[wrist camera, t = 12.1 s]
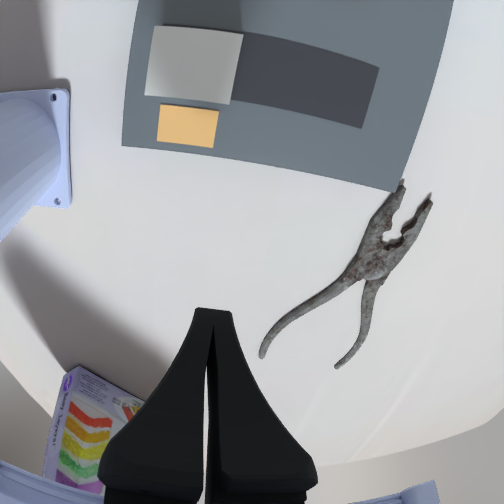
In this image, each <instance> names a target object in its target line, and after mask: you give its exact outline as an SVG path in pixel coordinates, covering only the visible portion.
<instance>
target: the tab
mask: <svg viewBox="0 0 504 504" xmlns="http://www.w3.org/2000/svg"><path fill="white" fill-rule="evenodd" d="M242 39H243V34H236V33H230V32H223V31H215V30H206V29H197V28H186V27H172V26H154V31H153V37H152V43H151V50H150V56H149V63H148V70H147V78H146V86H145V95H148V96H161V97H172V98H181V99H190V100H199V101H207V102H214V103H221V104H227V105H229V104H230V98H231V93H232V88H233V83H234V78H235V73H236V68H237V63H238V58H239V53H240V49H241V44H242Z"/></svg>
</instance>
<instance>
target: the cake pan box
mask: <svg viewBox="0 0 504 504" xmlns="http://www.w3.org/2000/svg"><path fill="white" fill-rule="evenodd" d="M144 403H145V401H143V400H141V399H139V398H137V397H135V396H133V395H131V394H129V393H127V392H125V391H123V390H121V389H119V388H118V387H116V386H114V385H112V384H110V383H108V382H107V381H105V380H103V379H101V378H100V377H98V376H96V375H94V374H93V373H91V372H89V371H88V370H86V369H84V368H82V367H80V366H78V367H76V368H74V369H73V370H71V371H70V372H68V373H66V374H65V375H64V376H63V380H62V384H61V387H60V391H59V395H58V399H57V403H56V407H55V411H54V415H53V419H52V423H51V427H50V431H49V436H48V441H47V446H46V452H45V458H44V464H43V471H42V476H41V477H43V478H46V479H49V480H51V481H54V482H57V483H60V484H63V485H67V486H70V487H73V488H76V489H80V490H83V491H87V492H91V493H95V494H98V495H102V496H104V495H105V487H106V486H105V485H104V484H103V483H102V482H101V481H100V480H99V479H98V477H97V473H98V467H99V462H100V459H101V456H102V454H103V452H104V450H105V448H106V446H107V444H108V443H109V441H110V439H111V438H112V437H113V436H114V435H116V434H117V433H118V432H119V431H120V430H121V429H122V428H123V427H124V426H125V425H126V424H127V423H128V422H129V420H130V419H131V418H132V417H133V416H134V415H135V414H136V412H137V411H138V410H139V409H140V408H141V407H142V406H143V404H144Z"/></svg>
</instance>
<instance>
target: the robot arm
mask: <svg viewBox="0 0 504 504" xmlns="http://www.w3.org/2000/svg"><path fill="white" fill-rule="evenodd" d="M53 94H56V96H57V99H56V100H54V99H53ZM69 100H70V95H69V92H68V90H67V89H64V88H57V89H37V90H23V91H11V92H2V93H0V242H1V241H2V240H3V239H4V237H5V236H6V235H7V234H8V233H9V232H10V230H11V229H12V228H13V227H14V226H15V225H16V224H17V223H18V221H19V220H20V219H21V218H22V217H23V216H24V215H25V214H26V213H27V212H28V211H29V210H30V208H31V207H32V206H33V205H38V206H47V207H55V208H64V209H65V208H68V207H69V206H70V205H71V203H72V196H71V182H70V162H69ZM57 198H58V199H59V200H60V202H58V201H57ZM206 366H207V387H208V410H209V425H208V446H207V467H206V487H205V488H206V489H205V504H305V503H304V501H306V500H307V496H306V491H307V490H309V489H311V488H312V487H314V486H315V485H316V484H317V483H318V477H317V472H316V468H315V465H314V462H313V460H312V457H311V456H310V455H309V454H308V453H307V452H306V451H305V450H304V449H303V448H302V447H301V446H300V444H299V443H298V442H297V441H296V440H295V439H294V438H293V436H292V435H291V434H290V433H289V432H288V430H287V429H286V428H285V427H284V425H283V424H282V422H281V421H280V420H279V418H278V417H277V416H276V414H275V413H274V411H273V410H272V409H271V407H270V405H269V404H268V402H267V401H266V399H265V397H264V396H263V394H262V392H261V390H260V389H259V387H258V385H257V383H256V381H255V379H254V377H253V375H252V373H251V371H250V369H249V366H248V364H247V362H246V359H245V357H244V354H243V352H242V349H241V346H240V343H239V340H238V337H237V334H236V330H235V327H234V322H233V317H232V313H231V312H230V311H224V310H216V309H208V308H200V307H198V308H196V309H195V312H194V316H193V320H192V323H191V326H190V328H189V331H188V333H187V335H186V337H185V340H184V342H183V344H182V346H181V348H180V350H179V352H178V354H177V355H176V357H175V359H174V361H173V362H172V364H171V366H170V368H169V369H168V371H167V372H166V374H165V376H164V377H163V379H162V380H161V382H160V383H159V384H158V386H157V387H156V389H155V390H154V391H153V393H152V394H151V395H150V397H149V398H148V399H147V401H146V402H145V403H144V404H143V406H142V407H141V408H140V409H139V410H138V411H137V412H136V414H135V415H134V416H133V417H132V418H131V419H130V420H129V422H128V423H127V424H126V425H125V426H124V427H123V428H122V429H121V430H120V431H119V432H118V433H117V434H116V435H114V436H113V437H112V438H111V439H110V441H109V443H108V444H107V446H106V448H105V450H104V452H103V454H102V456H101V459H100V462H99V467H98V473H97V477H98V479H99V480H100V481H101V482H102V483H103V484H104V485H105V486H106V487H105V495H104V496H102V495H98V494H95V493H91V492H87V491H83V490H80V489H76V488H73V487H70V486H67V485H63V484H60V483H57V482H54V481H51V480H49V479H46V478H43V477H40V476H38V475H35V474H32V473H30V472H27V471H24V470H22V469H20V468H17V467H15V466H12V465H11V464H8V463H6V462H4V461H2V460H0V504H197V501H199V499H200V496H201V494H202V491H203V475H204V469H203V419H204V386H205V372H206ZM350 504H440V500H439V496H438V492H437V488H436V484H435V481H434V480H431V481H429V482H425V483H422V484H419V485H415V486H412V487H410V488H408V489H405V490H403V491H402V492H400V493H396V494H392V495H388V496H384V497H380V498H376V499H370V500H366V501H360V502H355V503H350Z"/></svg>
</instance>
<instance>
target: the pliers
mask: <svg viewBox="0 0 504 504" xmlns="http://www.w3.org/2000/svg"><path fill="white" fill-rule="evenodd" d="M405 191H406V188H405V187H404V186H403V185H400V186H399V187H398V188H397V190H396V192H395V193H393V194H392V196H391V197H390V198H389V199H388V200H387V201H386V203H385V204H384V205H383V206H382V207H381V208H380V210H379V211H378V212H377V213H376V214H375V215H374V217H373V218H372V219H371V220H370V222H369V225H368V227H367V230H366V232H365V235H364V237H363V240H362V242H361V244H360V247H359V249H358V252H357V254H356V257H355V259H354V260H353V261H352V263H351V264H350V265H349V267H348V268H347V269H346V270H345V272H344V273H343V274H342V275H341V276H340V278H339V279H338V280H337V281H335V282H334V283H333V284H332V285H330V286H329V287H328V288H326V289H325V290H324V291H322V292H321V293H319V294H318V295H316V296H315V297H313V298H311V299H310V300H308V301H307V302H305V303H304V304H302V305H300V306H299V307H297V308H296V309H294V310H293V311H291V312H290V313H288V314H287V315H286V316H284V317H283V318H282V319H281V320H280V321H279V322H278V323H276V324H275V326H274V327H273V328H272V329H271V330H270V332H269V333H268V334H267V336H266V337H265V339H264V341H263V343H262V345H261V347H260V350H259V358H260V359H263V358H264V357H265V355H266V352H267V349H268V347H269V345H270V343H271V342H272V340H273V339H274V338H275V337H276V335H277V334H278V333H279V332H280V331H281V330H282V329H283V328H284V327H286V326H287V325H288V324H289V323H291V322H292V321H294V320H295V319H297V318H299V317H300V316H302V315H304V314H306V313H307V312H309V311H311V310H313V309H315V308H316V307H318V306H320V305H322V304H324V303H326V302H327V301H329V300H331V299H332V298H334V297H336V296H337V295H339V294H340V293H342V292H343V291H344V290H346V289H347V288H348V287H350V286H351V285H353V284H354V283H355V282H357V281H360V280H362V279H366V283H365V286H364V290H363V295H362V301H361V326H360V333H359V336H358V338H357V341H356V342H355V344H354V346H353V347H352V348H351V350H350V351H349V352H348V353H347V354H346V355H345V356H344V358H342V359H341V360H340V361H339V362H338V363H337V364H335V365H334V368H335V369H339V368H340V367H341V366H343V365H344V364H345V363H346V362H348V361H349V360H350V359H351V358H352V357H353V356H354V354H355V353H356V352H357V351H358V350H359V348H360V347H361V345H362V344H363V342H364V341H365V339H366V337H367V335H368V331H369V328H370V323H371V317H372V310H373V304H374V300H375V296H376V293H377V291H378V289H379V287H380V286H381V285H383V284H384V282H385V280H386V279H387V277H388V275H389V274H390V272H391V271H392V270H393V269H394V268H395V267H396V266H397V264H398V263H399V262H400V261H401V260H402V258H403V257H404V255H405V254H406V253H407V251H408V250H409V249H410V247H411V246H412V244H413V243H414V242H415V240H416V239H417V237H418V235H419V233H420V230H421V228H422V226H423V224H424V222H425V220H426V218H427V216H428V214H429V211H430V209H431V207H432V205H433V202H432V201H431V200H430V199H429V198H428V199H427V200H426V202H425V203H424V204H423V205H422V206H421V208H420V209H419V210H418V211H417V212H416V214H415V217H414V220H413V221H412V222H411V224H410V225H408V226H405V227H404V228H403V229H402V230H401V234H402V238H401V240H400V242H398V243H396V244H395V245H394V244H389V245H388V246H387V247H384V244H383V243H382V241H380V236H381V235H382V234H383V232H385V231H389V230H391V227H392V220H391V219H392V216H393V214H394V213H395V212H396V211H397V210H398V209H399V207H400V204H401V201H402V199H403V196H404V193H405Z"/></svg>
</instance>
